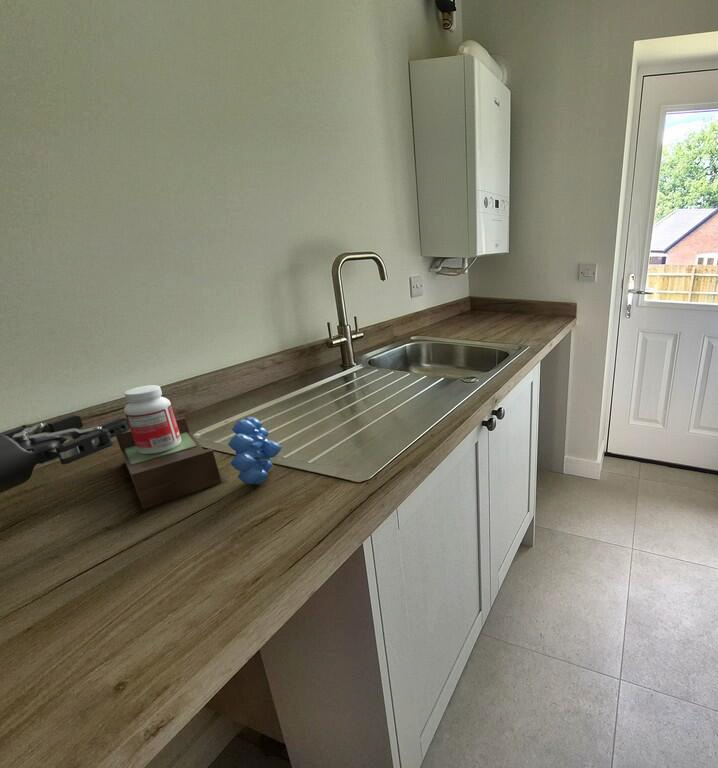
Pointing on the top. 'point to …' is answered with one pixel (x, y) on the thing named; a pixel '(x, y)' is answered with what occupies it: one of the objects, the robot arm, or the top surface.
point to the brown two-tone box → (169, 468)
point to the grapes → (252, 450)
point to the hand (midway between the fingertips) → (102, 421)
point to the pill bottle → (151, 420)
